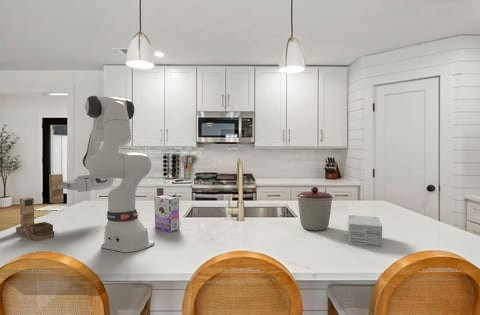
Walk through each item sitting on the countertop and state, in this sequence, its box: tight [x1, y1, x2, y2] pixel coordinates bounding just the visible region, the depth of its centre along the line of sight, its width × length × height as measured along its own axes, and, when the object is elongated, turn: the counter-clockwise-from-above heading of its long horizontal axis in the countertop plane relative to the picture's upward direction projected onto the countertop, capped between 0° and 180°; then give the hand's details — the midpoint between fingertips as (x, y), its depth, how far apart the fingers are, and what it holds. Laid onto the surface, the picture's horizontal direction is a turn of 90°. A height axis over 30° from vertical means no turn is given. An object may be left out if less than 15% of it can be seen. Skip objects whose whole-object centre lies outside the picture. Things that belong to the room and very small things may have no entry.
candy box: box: [154, 194, 180, 233], centre depth 157 cm, size 14×6×16 cm, turn 47°
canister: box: [296, 186, 334, 232], centre depth 158 cm, size 18×18×21 cm
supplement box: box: [347, 214, 383, 249], centre depth 137 cm, size 17×13×9 cm
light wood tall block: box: [48, 173, 64, 204], centre depth 157 cm, size 5×4×14 cm
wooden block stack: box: [15, 196, 55, 242], centre depth 149 cm, size 24×8×16 cm, turn 52°
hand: (54, 186), depth 156 cm, fingers closed on light wood tall block, 4 cm apart
